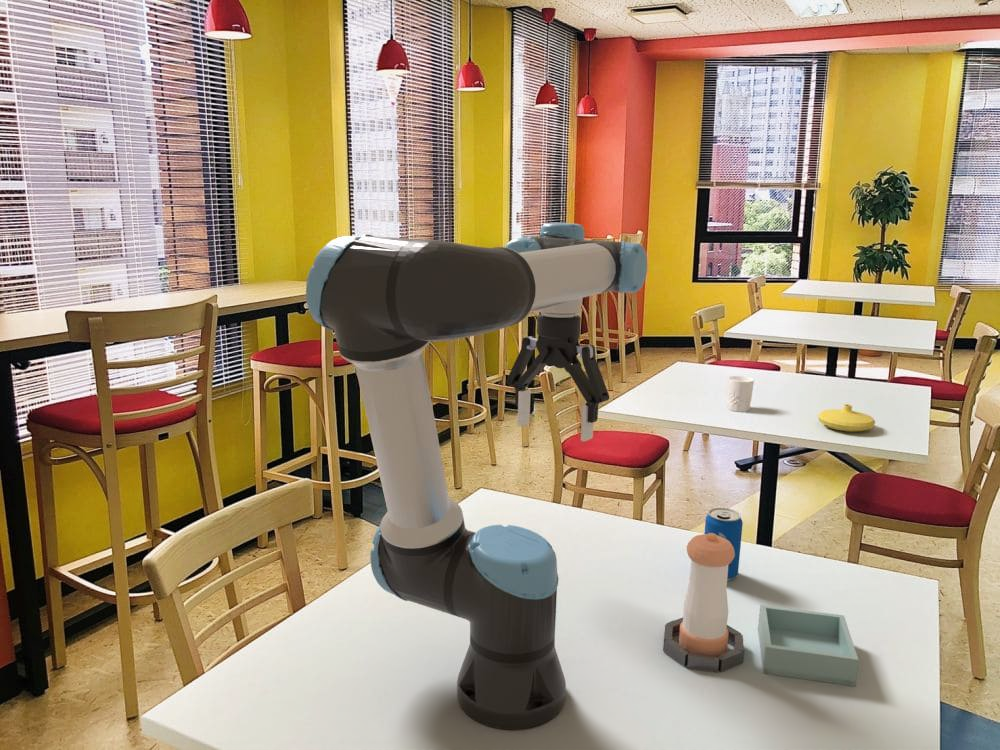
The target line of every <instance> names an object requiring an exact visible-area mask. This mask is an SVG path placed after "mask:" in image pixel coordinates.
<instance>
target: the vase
mask: <svg viewBox="0 0 1000 750" xmlns="http://www.w3.org/2000/svg"><path fill="white" fill-rule="evenodd" d="M817 418H818V421H819V422H820V423H822V424H823V425H825V426H826V427H828V428H830V429H833V430H837V431H842V432H850V433H855V432H856V433H859V432H863V431H867V430H870V429H872V428H874V426H875V424H876V421H875V419H874V417H872V416H871V415H868V414H866V413H863V412H859V411H855V410H853V405H851V404H847V403H846V404H843V409H825V410H822V411H820V412H819V413H818V415H817Z"/></svg>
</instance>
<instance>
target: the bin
mask: <svg viewBox="0 0 1000 750" xmlns="http://www.w3.org/2000/svg"><path fill="white" fill-rule="evenodd" d="M757 631H758V633H757V634H758V641H759V649H760V657H761V658H760V659H761V665H762V674H766V675H767V674H769V675H774V676H780V677H781V676H782V677H788V678H795V679H801V680H807V681H808V680H809V681H815V682H821V683H830V684H835V685H843V686H850V687H855V686H856V681H857V680H856V679H857V673H858V666H859V665H858V664H859V657H858V654H857V650H856V647H855V645H854V641H853V638H852V636H851V633H850V630H849V626H848V624H847V621H846V617H845V615H844V614H838V613H837V614H836V613H827V612H820V611H814V610H812V611H811V610H805V609H804V610H803V609H796V608H789V607H781V606H772V605H764V604H760V606H759V613H758V623H757Z"/></svg>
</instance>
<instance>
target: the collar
mask: <svg viewBox="0 0 1000 750" xmlns="http://www.w3.org/2000/svg"><path fill="white" fill-rule="evenodd" d="M682 621H683V617H681V618H678V619H675V620H673V621H668V622H666V623H665V625H664V633H663V645H662V646H663V647H662V650H663V653H664V654H665V655H667V656H668V657H670V658H671V659H672V660H674V661H675V662H677V663H678V664H679V665H681V666H683V667H684V668H685V667H686V668H687V669H690V670H691V669H692V670H696V671H705V672H710V673H711V672H712V673H719V672H720V673H722V672H725V671H728V670H730V669H732V668H735V667H737V666H740V665H742V664H743V663H744V655H745V654H744V653H745V645H744V636H743V634H742V633H741V632H739V631H738V630H737V629H735V628H733V627H731V626H730V625H728V624H727V629H728V634H729V635H728V645H729V644H730V645H731V646H732V647H733V649H731V650H727V652H725V653H723V654H720V655H718V656H715V655H708V654H701V653H694V652H690V651H688V650H687V649H685V648H684V647H682V646H681V645H679V642H677V641H675V640H674V639H673V638H675V637H677V636H678V637H679V634H680V624H681V623H682Z"/></svg>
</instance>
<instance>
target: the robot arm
mask: <svg viewBox="0 0 1000 750" xmlns="http://www.w3.org/2000/svg"><path fill="white" fill-rule="evenodd" d="M308 271H309V272H308V275H307V279H306V285H305V286H306V287H305V300H306V305H307V309H308V311H309V313H310V316H311V317H312V319H313V320H314V322H316V323H317V324H319V325H321V327H323V328H325V329H327V330H329V331H334V335H335V340H336V343H337V348H338V353H339V355H340V356H341V358H342V359H344V360H345V361H347V362H348V363H350V364H353V365H354V366H355V371H356V376H357V380H358V385H359V389H360V394H361V399H362V402H363V406H364V411H365V417H366V419H367V424H368V425H367V426H368V428H369V433H370V438H371V443H372V447H373V451H374V456H375V461H376V464H377V465H376V466H377V469H378V474H379V478H380V482H381V483H380V484H381V487H382V491H383V492H382V493H383V495H384V500H385V504H386V505H385V506H386V511H387V512H386V513H385V515H384V516H383V517H382V519H381V522H380V525H379V526H378V528H377V530H376V531H375V533H374V536H373V539H372V542H371V543H372V544H373V549H371V550H370V553H369V554H370V556H369V557H370V559H369V560H370V567H371V568H370V569H371V571H372V575H373V577H374V579H375V581H376V583H377V584H378V585H379V587H380V588H382V589H383V590H384V591H385V592H387V593H389V594H391V595H394V596H395V597H397V598H398V599H400V600H402V601H405V602H410V603H413V604H414V603H415V604H418V605H421V606H424V607H426V608H430V609H433V610H436V611H438V612H442V613H446V614H448V615H451V616H455V617H458V618H461V619H463V620H466V621H468V622H469V632H470V633H469V645H468V648H467V651H466V653H465V656H464V658H463V662H462V664H461V666H460V671H459V672H458V676H457V680H456V699H457V702H458V704H459V707H460V708H461V710H462V711H463V712H464V713H465V714H466V715H468V717H469V718H471V719H472V720H474V721H476V722H478V723H480V724H482V725H485V726H488V727H491V728H496V729H501V730H523V729H530V728H534V727H538V726H540V725H543V724H546V723H548V722H549V721H551V720H552V719H554V718H555V717H556V716H558V714H560V713H561V711H562V710H563V708H564V705H565V703H566V694H567V693H566V691H567V689H566V688H567V685H566V683H567V682H566V678H565V674H564V671H563V668H562V664H561V662H560V659H559V658H560V657H559V655H558V652H557V649H556V647H555V646H556V645H555V644H556V641H555V640H556V638H555V637H556V636H555V635H556V619H557V618H556V617H557V596H558V586H559V574H558V564H557V563H558V559H557V554H556V552H555V550H554V548H553V546H552V545H551V543H550V542H549V541H548V540H547V539H546V538H545V537H543V536H542V535H540V534H539V533H537V532H535V531H533V530H531V529H527V528H525V527H522V526H517V525H511V524H508V525H507V526H504V525H502V524H493V525H487V526H485V527H482V528H479V529H478V530H476V531H471V530H468V529H467V528H466V525H465V518H464V514H463V510H462V508H461V506H460V504H459V503H458V502H456V500H453V499H452V498H450V497H449V496H450V495H449V491H448V486H447V481H446V475H445V469H444V463H443V457H442V453H441V448H440V442H439V436H438V435H439V434H438V431H437V429H438V428H437V425H436V419H435V415H434V409H433V408H434V407H433V403H432V398H431V392H430V385H429V381H428V374H427V369H426V364H425V359H424V358H425V357H424V353H423V352H424V350H425V349H426V348H427V347H428V346H429V344H430V343H431V342H446V341H453V340H454V341H455V340H459V339H466V338H470V337H475V336H479V335H483V334H487V333H491V332H495V331H499V330H503V329H505V328H509V327H512V326H515V325H517V324H519V323H521V322H522V321H524V320H525V319H526V318H527V317H528V315H529V314H530V313H531V312H535V311H538V312H539V314H538V315H537V316H536V317H537V319H536V334H537V335H538V336H537V338H536V337H535V336H534V335H531V336H525V337H523V338H522V339H521V346H520V347H521V349H520V351H519V352H518V355H517V357H516V359H515V362H514V363H513V365H512V366H511V367H512V368H511V370H510V371H509V374H508V376H507V379H506V381H505V382H506V384H507V385H508V386H511V387H513V388H514V390H515V393H514V394H515V395H514V396H515V397H514V398H515V399H514V400H515V401H514V405H515V407H517V424H516V425H517V426H518V427H523V426H526V425H529V424H530V422H531V421H530V420H531V419H530V417H531V392H532V391H531V388H528V387H530V386H529V385H530V384H531V382H532V381H533V380H534V379H535V378H536V377H537V375H539V373H540V372H541V371H542V370H543V368H544V367H545V366H547V367H554V368H556V369H564V370H565V372H566V373H568V374H569V375H570V377H571V379H572V380H573V382H574V384H575V385H576V387H577V388H578V389H577V390H579V393H581V395H582V397H583V398H584V400H585V403H582V405H581V406H582V407H581V409H582V410H581V427H580V429H581V430H580V441H581V442H587V441H590V440H591V439H592V440H593V437H594V423H595V422H597V421H598V419H599V418H598V416H599V405H600V404H601V403H604V402H607V401H609V400H610V395H609V392H608V389H607V386H606V383H605V380H604V378H603V376H602V373H601V370H600V366H599V365H598V364H599V363H598V362H597V359H596V346H594V345H593V344H589V345H587V346H585V345H580V343H579V338H580V336H581V322H582V321H581V320H582V318H581V316H580V315H579V314H580V313H581V312H582V299H584V298H588V297H590V296H594V295H598V294H602V293H606V292H616V293H619V294H622V293H632V294H633V293H636V292H639V291H640V290H641V289H642V287H643V286H644V283H645V281H646V277H647V273H648V256H647V251H646V250H645V248H644V247H643V245H641V244H640V243H637V242H627V241H625V240H622V241H612V240H611V241H610V240H609V241H608V240H587V239H585V229H584V227H583V225H582V224H580V223H572V222H571V223H569V222H567V223H566V222H545V223H544V224H542V225H541V227H540V233H539V236H525V235H524V236H521V237H520V238H514V239H512V240H510V241H509V242H507V243H506V244H505V245H504V246H496V247H495V246H493V247H486V246H485V247H484V246H477V245H470V244H469V245H467V244H464V243H457V242H452V241H451V242H450V241H445V240H438V239H420V238H419V239H417V238H405V237H403V238H402V237H391V236H388V237H386V236H376V235H375V236H374V235H372V234H362V235H343V236H340V237H337V238H334V239H332V240H330V241H329V242H327V243H326V244H325V246H323V247H322V248H321V249H320V251H319V252H318V254H317V255H316V256H315V258H314V262H313V264H312V266H311V267H310V269H309V270H308ZM536 349H537V350H536ZM535 350H536V351H538V355H537V356H536V357H535V358H534V359H533V361H532V363H531V365H530V366H529V367H528V368H527V366H528V363H529V362H530V360H531V358H532V355H533V353H534V351H535ZM578 356H579V358H581V360H582V363H581V361H580V359H579V358H578ZM582 364H583V367H584V369H583V368H582Z"/></svg>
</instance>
